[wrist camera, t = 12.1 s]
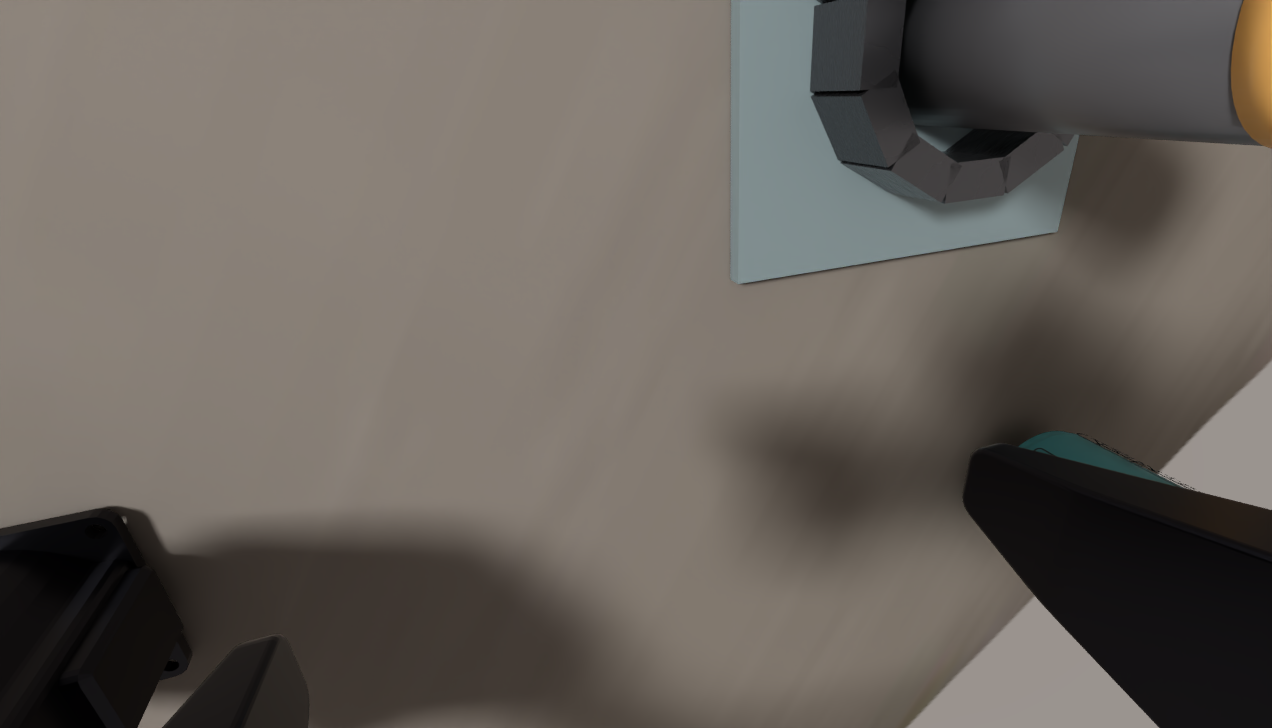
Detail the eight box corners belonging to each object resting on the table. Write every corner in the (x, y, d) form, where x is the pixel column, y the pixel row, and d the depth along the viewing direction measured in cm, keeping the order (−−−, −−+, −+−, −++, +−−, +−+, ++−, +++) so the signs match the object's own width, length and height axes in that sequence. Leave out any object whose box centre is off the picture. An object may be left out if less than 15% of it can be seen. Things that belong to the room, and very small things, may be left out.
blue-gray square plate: (730, 279, 21) (738, 283, 21) (731, -255, 15) (742, -267, 15) (1044, 228, 25) (1057, 231, 24) (1142, -223, 19) (1163, -232, 18)
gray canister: (843, 99, 19) (1436, 104, 8) (910, -83, 18) (1778, -414, 6) (959, 145, 21) (1574, 203, 10) (1029, -16, 20) (1864, -176, 8)
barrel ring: (804, 204, 20) (849, 217, 18) (821, -141, 16) (882, -179, 14) (1021, 175, 23) (1085, 183, 20) (1082, -134, 19) (1169, -165, 16)
